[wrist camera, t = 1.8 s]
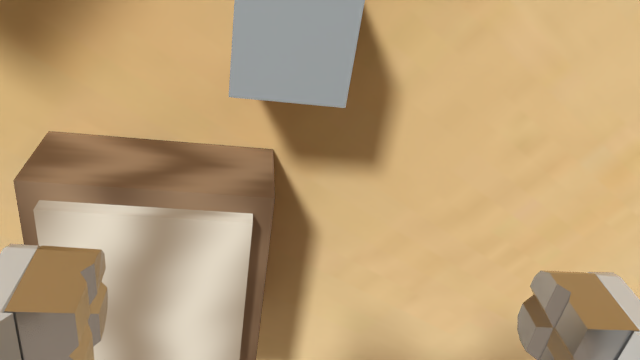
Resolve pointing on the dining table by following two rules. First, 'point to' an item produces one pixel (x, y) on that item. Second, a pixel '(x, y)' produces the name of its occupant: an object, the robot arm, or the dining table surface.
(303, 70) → the slate block
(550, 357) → the robot arm
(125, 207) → the walnut block
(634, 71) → the dining table surface
